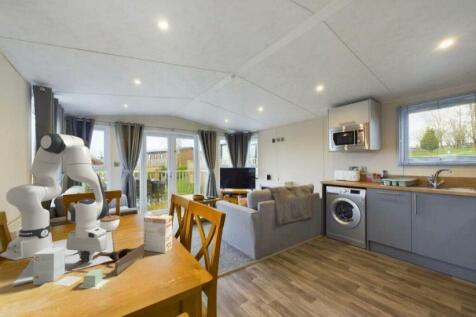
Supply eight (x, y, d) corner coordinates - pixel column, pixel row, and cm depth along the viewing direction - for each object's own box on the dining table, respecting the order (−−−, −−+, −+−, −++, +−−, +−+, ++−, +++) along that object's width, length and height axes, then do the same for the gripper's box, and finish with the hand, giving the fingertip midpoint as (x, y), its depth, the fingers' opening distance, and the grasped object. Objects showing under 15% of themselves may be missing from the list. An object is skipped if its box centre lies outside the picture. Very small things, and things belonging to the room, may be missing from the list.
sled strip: (64, 273, 91) (64, 258, 91) (99, 253, 110) (99, 241, 111) (117, 278, 88) (117, 262, 88) (144, 257, 107) (144, 244, 107)
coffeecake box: (172, 248, 118) (172, 215, 118) (165, 253, 111) (165, 218, 112) (151, 245, 122) (151, 213, 122) (142, 250, 115) (143, 216, 116)
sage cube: (83, 286, 80) (83, 275, 80) (91, 280, 84) (91, 269, 84) (95, 286, 80) (95, 275, 80) (102, 280, 85) (102, 269, 85)
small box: (65, 275, 90) (65, 246, 90) (53, 284, 83) (53, 253, 83) (45, 276, 89) (46, 247, 89) (32, 285, 83) (32, 254, 83)
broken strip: (52, 287, 81) (52, 284, 81) (66, 278, 87) (66, 275, 87) (97, 292, 79) (97, 289, 79) (109, 282, 84) (109, 280, 84)
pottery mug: (136, 258, 107) (138, 247, 103) (128, 275, 98) (129, 264, 95) (112, 254, 105) (113, 243, 102) (102, 270, 96) (103, 259, 93)
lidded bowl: (122, 228, 151) (123, 214, 151) (104, 234, 140) (104, 218, 140) (114, 226, 157) (114, 212, 158) (96, 230, 147) (96, 215, 147)
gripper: (62, 232, 99) (62, 260, 99) (99, 234, 96) (98, 263, 96) (74, 228, 105) (74, 254, 105) (109, 230, 103) (108, 257, 102)
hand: (86, 258), depth 101 cm, fingers open, 3 cm apart
